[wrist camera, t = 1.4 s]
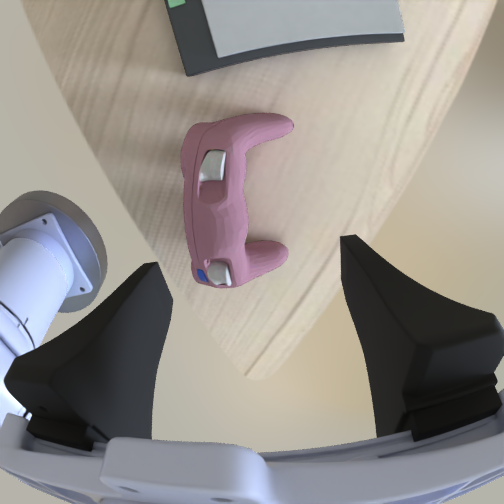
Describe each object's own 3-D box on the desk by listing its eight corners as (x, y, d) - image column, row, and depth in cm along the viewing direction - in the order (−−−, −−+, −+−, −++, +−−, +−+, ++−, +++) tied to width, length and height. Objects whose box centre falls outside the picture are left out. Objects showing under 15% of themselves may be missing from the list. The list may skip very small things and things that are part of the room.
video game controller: (227, 106, 18) (152, 127, 13) (299, 110, 17) (246, 130, 11) (232, 244, 24) (178, 301, 18) (292, 258, 22) (249, 325, 17)
